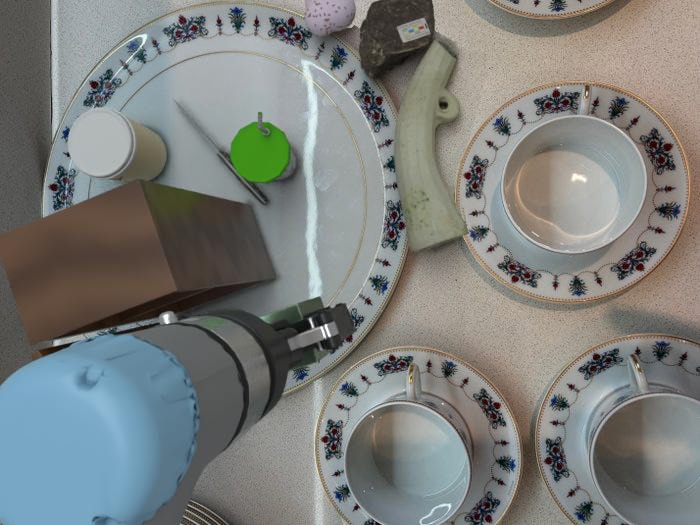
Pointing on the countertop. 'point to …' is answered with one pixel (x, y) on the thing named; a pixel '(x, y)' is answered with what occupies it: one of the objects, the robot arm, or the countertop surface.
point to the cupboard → (130, 259)
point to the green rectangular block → (295, 314)
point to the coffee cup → (115, 147)
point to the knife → (227, 161)
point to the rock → (394, 33)
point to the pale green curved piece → (426, 153)
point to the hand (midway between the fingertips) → (302, 330)
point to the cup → (262, 153)
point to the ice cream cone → (328, 15)
